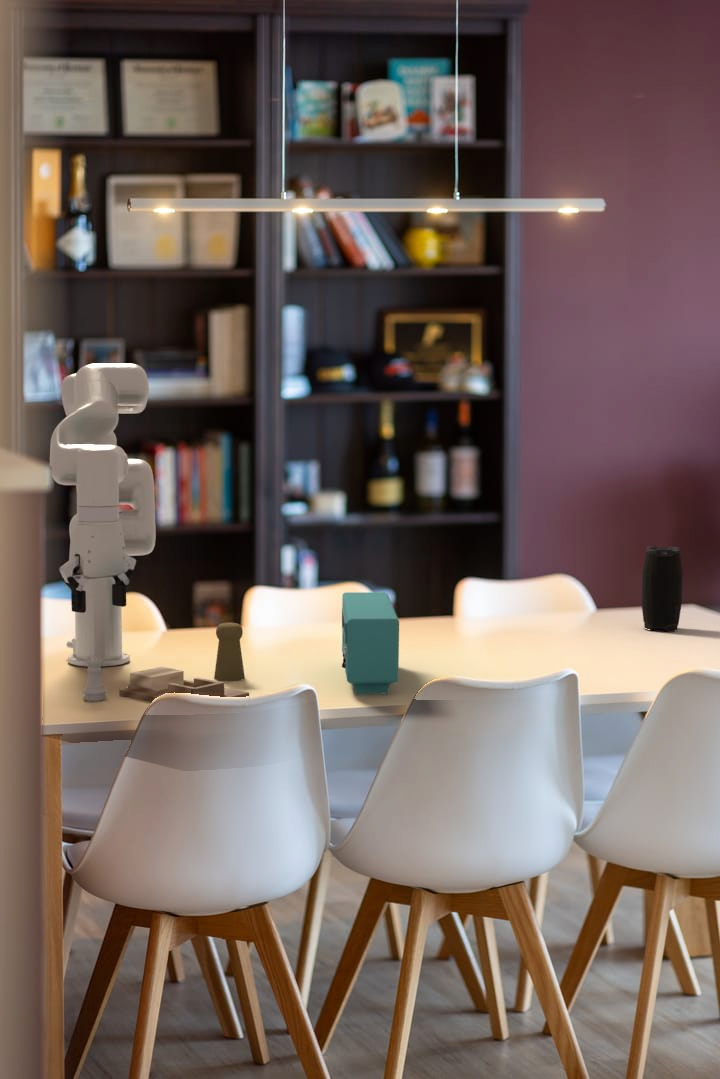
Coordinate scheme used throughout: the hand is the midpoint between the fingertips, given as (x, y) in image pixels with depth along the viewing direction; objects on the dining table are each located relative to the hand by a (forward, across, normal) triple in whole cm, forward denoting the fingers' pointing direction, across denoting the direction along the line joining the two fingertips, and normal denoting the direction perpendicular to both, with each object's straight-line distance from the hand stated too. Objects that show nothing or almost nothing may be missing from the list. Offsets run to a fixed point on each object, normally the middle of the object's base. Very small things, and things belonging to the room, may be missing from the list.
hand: (99, 608), depth 271 cm
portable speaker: (+17, -137, +43) cm, 144 cm away
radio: (+17, -46, +26) cm, 55 cm away
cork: (+17, -29, +5) cm, 34 cm away
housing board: (+17, -11, +10) cm, 23 cm away
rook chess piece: (+17, +1, -1) cm, 17 cm away
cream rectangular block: (+15, -10, +4) cm, 19 cm away
